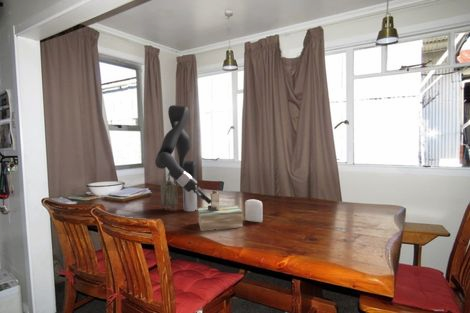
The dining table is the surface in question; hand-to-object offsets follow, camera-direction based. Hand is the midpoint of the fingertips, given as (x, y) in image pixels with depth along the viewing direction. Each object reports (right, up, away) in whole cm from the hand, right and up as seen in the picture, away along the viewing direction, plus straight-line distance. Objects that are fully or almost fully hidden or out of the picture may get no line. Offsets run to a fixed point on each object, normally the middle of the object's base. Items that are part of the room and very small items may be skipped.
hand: (210, 202), depth 154 cm
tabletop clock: (-31, -12, +39) cm, 51 cm away
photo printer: (+24, -12, +8) cm, 28 cm away
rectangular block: (+5, -13, +2) cm, 14 cm away
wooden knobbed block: (+3, -4, +1) cm, 5 cm away
